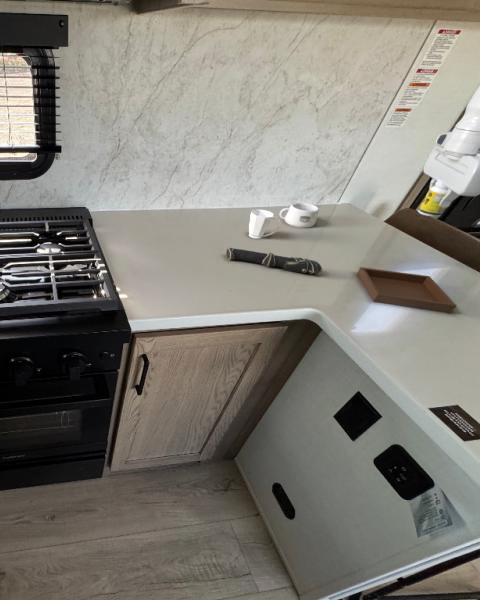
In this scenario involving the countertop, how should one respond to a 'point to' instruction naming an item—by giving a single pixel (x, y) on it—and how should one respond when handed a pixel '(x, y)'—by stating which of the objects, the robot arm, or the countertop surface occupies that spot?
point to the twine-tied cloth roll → (275, 260)
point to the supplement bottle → (433, 200)
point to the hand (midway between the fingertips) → (436, 201)
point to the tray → (405, 290)
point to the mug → (301, 215)
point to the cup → (261, 223)
